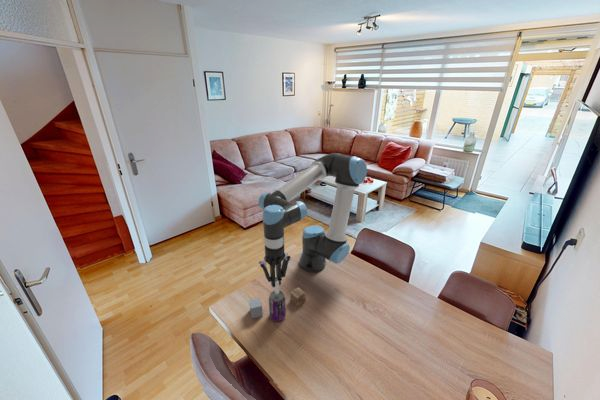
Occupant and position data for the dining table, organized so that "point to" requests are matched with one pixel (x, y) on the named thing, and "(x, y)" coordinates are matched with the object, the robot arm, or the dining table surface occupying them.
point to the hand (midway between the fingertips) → (276, 291)
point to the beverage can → (277, 306)
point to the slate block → (255, 308)
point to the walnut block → (297, 296)
